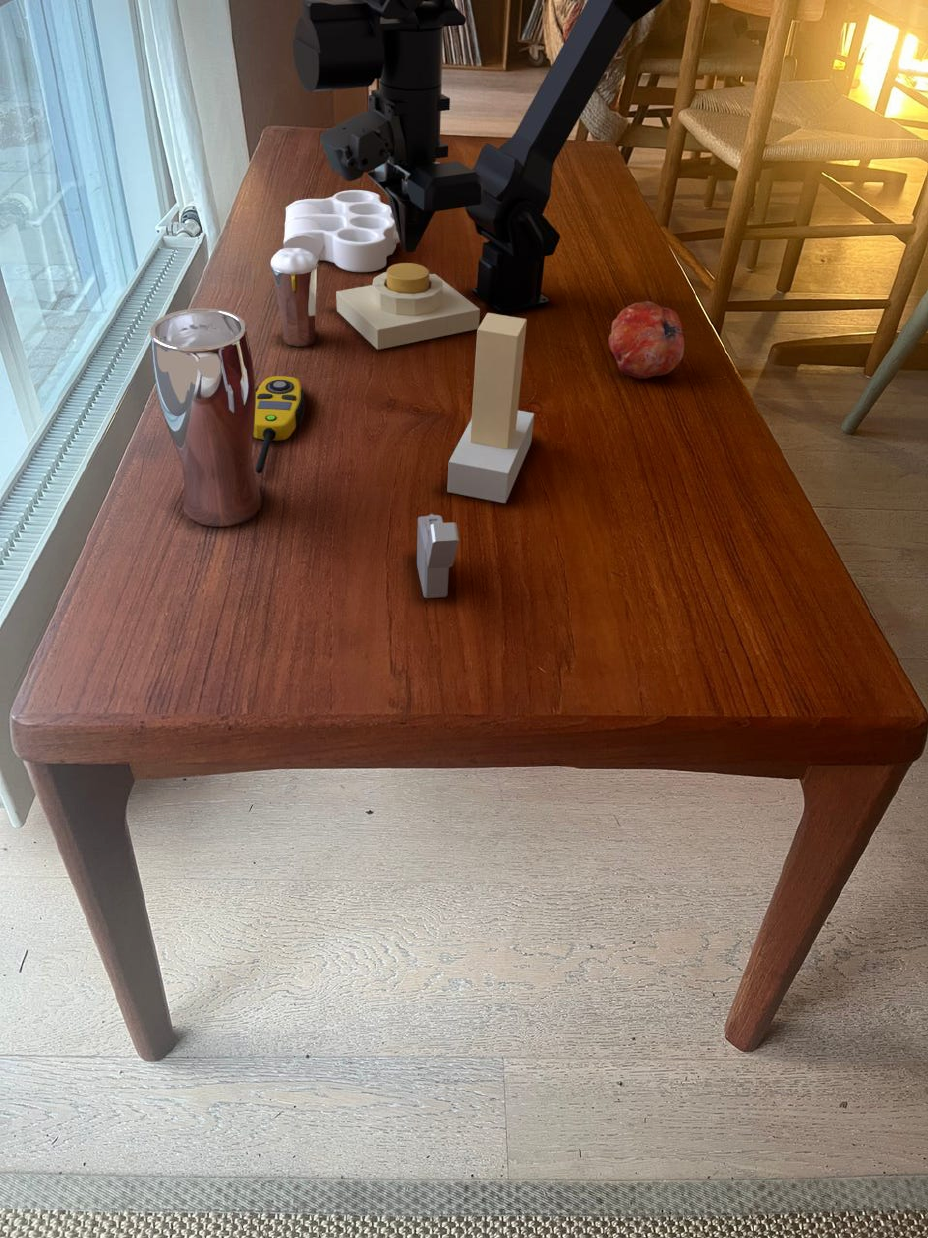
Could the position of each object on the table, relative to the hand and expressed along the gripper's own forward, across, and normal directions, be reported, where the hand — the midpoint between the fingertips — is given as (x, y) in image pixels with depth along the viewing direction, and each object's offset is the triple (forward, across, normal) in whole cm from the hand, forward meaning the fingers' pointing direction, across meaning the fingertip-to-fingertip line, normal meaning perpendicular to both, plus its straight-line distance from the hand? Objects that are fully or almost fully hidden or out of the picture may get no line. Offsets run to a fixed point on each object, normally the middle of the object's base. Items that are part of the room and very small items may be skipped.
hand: (408, 251), depth 100 cm
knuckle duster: (+8, -22, +3) cm, 23 cm away
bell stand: (+7, 0, 0) cm, 7 cm away
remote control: (+8, +15, -21) cm, 27 cm away
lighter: (+8, +41, -19) cm, 46 cm away
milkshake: (+8, 0, -12) cm, 14 cm away
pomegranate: (+8, +20, +16) cm, 27 cm away
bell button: (+4, 0, 0) cm, 4 cm away
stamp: (+7, +28, -7) cm, 30 cm away
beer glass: (+8, +24, -29) cm, 38 cm away
